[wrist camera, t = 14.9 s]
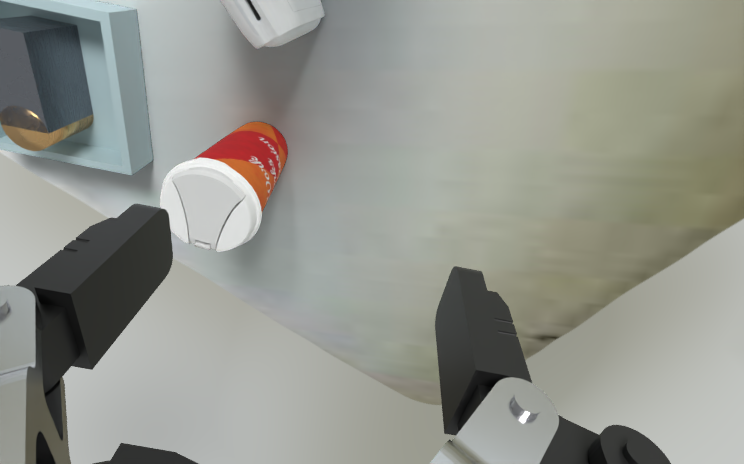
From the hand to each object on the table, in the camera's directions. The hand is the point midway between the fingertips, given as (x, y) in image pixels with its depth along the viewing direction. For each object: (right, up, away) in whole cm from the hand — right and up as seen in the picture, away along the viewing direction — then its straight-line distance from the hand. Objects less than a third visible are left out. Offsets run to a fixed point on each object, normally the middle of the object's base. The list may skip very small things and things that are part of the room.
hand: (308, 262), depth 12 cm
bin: (-27, +16, +28) cm, 42 cm away
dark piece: (-27, +16, +26) cm, 41 cm away
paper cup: (-10, +10, +31) cm, 33 cm away
